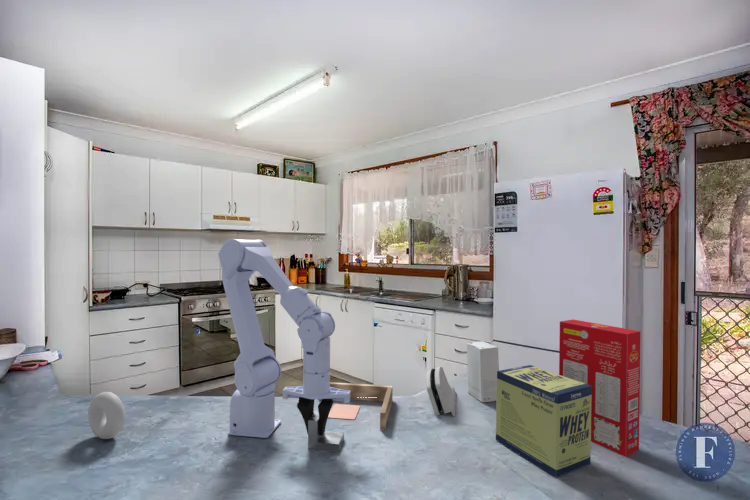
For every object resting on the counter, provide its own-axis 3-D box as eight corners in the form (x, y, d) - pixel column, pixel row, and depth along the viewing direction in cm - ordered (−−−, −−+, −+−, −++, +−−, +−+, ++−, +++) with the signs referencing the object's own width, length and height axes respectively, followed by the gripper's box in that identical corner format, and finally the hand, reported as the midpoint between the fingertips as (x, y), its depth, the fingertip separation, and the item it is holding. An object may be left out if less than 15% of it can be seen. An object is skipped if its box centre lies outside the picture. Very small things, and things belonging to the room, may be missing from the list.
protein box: (557, 479, 70) (558, 394, 69) (494, 440, 83) (495, 369, 83) (592, 464, 74) (593, 385, 74) (527, 430, 88) (528, 363, 88)
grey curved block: (455, 417, 94) (441, 378, 95) (437, 421, 95) (423, 383, 96) (455, 392, 111) (444, 359, 111) (440, 396, 112) (428, 363, 112)
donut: (128, 439, 83) (128, 393, 83) (112, 446, 80) (112, 399, 79) (101, 429, 87) (101, 386, 87) (84, 436, 84) (84, 391, 84)
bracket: (308, 448, 79) (308, 420, 79) (315, 437, 84) (315, 410, 84) (338, 451, 78) (338, 422, 78) (343, 439, 83) (343, 412, 83)
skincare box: (500, 401, 104) (500, 347, 104) (480, 403, 103) (481, 348, 103) (484, 390, 113) (484, 340, 112) (465, 392, 111) (466, 341, 111)
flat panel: (326, 417, 94) (326, 417, 94) (334, 404, 102) (334, 403, 102) (354, 419, 93) (354, 419, 93) (360, 406, 101) (360, 405, 101)
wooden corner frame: (297, 423, 91) (297, 406, 90) (318, 395, 108) (318, 381, 108) (385, 430, 88) (385, 412, 88) (392, 400, 105) (392, 385, 105)
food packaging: (638, 449, 80) (640, 331, 80) (625, 456, 77) (627, 334, 77) (571, 421, 92) (572, 319, 92) (558, 426, 90) (559, 321, 90)
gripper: (353, 365, 84) (353, 426, 85) (290, 362, 86) (290, 421, 87) (346, 376, 77) (346, 442, 78) (278, 372, 79) (278, 437, 80)
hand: (316, 432), depth 82 cm, fingers closed on bracket
